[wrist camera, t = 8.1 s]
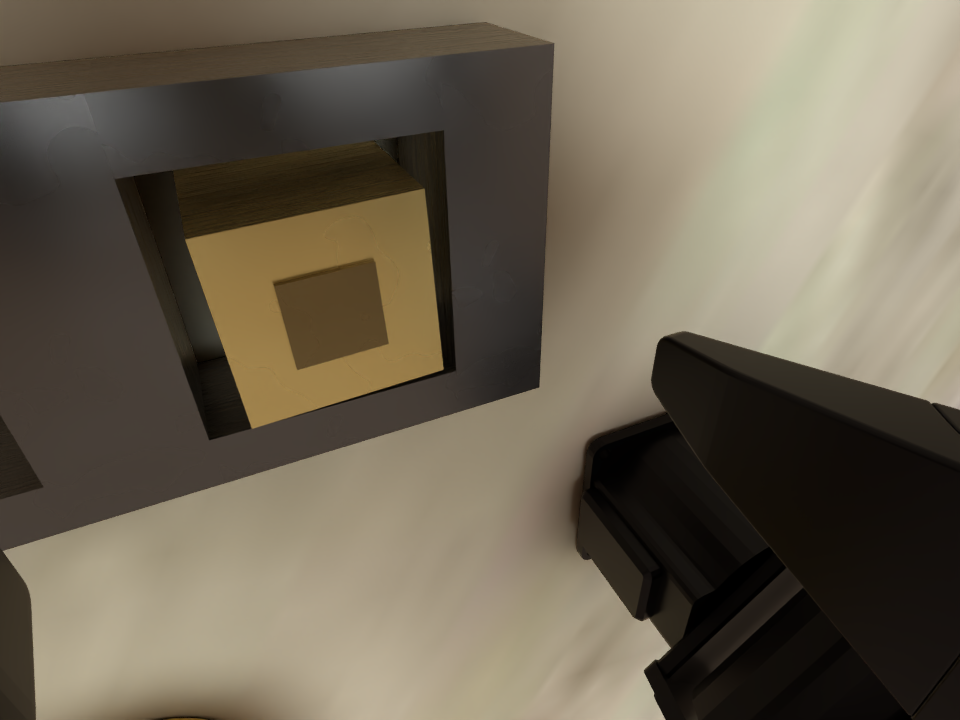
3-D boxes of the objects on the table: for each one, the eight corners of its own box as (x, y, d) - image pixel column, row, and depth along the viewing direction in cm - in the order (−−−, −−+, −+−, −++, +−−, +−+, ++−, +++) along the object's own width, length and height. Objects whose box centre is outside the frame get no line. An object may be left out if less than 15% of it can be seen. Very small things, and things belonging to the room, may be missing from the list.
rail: (485, 21, 14) (554, 43, 12) (489, 330, 19) (539, 387, 16) (-805, 139, 8) (-1162, 226, 6) (-327, 545, 13) (-423, 680, 10)
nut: (362, 130, 14) (426, 190, 11) (386, 287, 17) (445, 372, 13) (171, 164, 13) (185, 242, 10) (227, 327, 15) (252, 432, 12)
